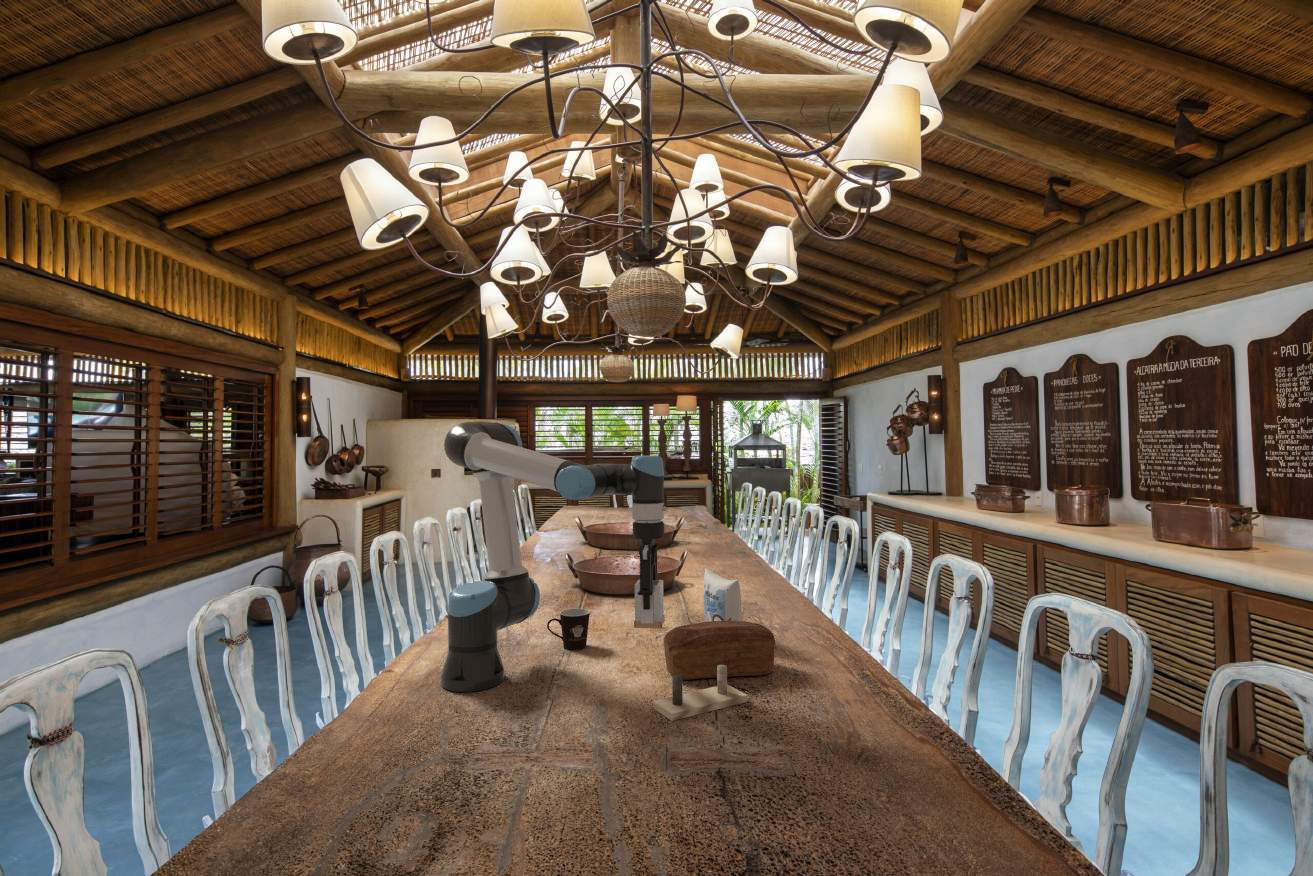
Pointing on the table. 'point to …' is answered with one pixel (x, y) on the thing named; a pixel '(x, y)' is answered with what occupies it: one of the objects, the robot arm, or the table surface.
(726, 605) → the pouch
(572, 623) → the coffee mug
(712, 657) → the bread
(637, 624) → the sleeve
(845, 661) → the table surface
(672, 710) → the pin board
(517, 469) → the robot arm
